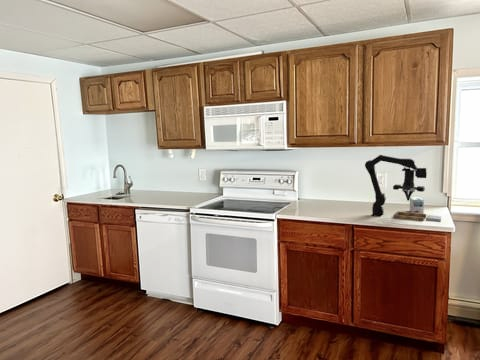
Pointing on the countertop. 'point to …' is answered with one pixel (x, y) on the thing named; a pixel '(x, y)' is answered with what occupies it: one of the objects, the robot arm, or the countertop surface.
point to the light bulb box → (416, 205)
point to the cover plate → (433, 218)
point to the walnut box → (409, 216)
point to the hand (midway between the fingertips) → (408, 200)
